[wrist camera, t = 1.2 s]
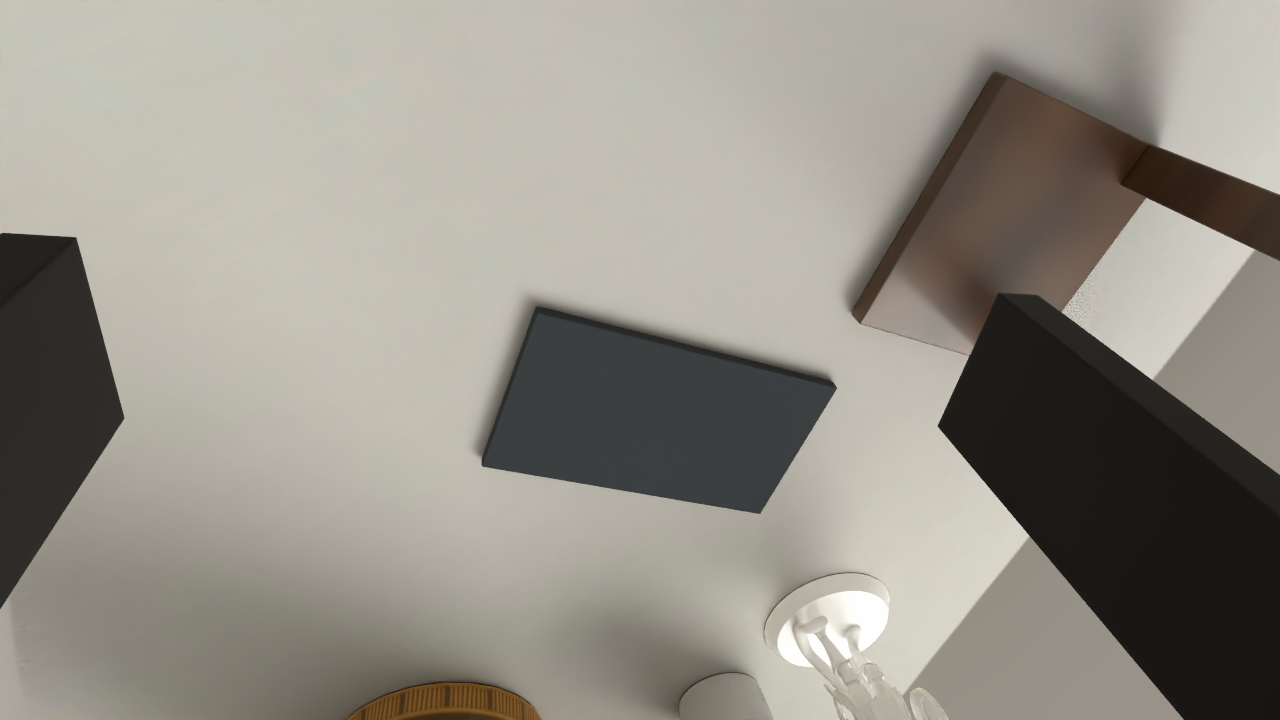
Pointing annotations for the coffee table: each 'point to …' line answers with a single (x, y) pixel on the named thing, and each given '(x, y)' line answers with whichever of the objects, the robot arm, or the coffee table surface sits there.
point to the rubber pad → (650, 415)
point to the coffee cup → (725, 699)
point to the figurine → (844, 644)
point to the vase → (448, 704)
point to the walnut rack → (1038, 214)
